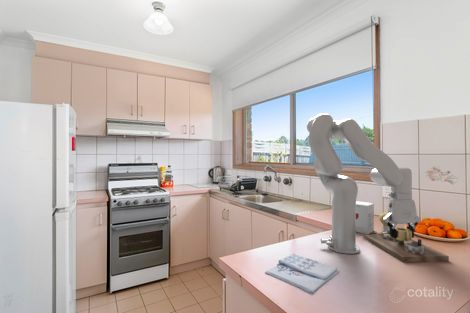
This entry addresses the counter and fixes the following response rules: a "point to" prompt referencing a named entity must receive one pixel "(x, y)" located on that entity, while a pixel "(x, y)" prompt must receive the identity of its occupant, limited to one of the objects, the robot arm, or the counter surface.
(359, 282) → the counter surface
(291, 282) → the folded cloth napkin
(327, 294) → the counter surface
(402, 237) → the brass gear
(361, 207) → the supplement box
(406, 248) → the gear board
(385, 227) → the light bulb
